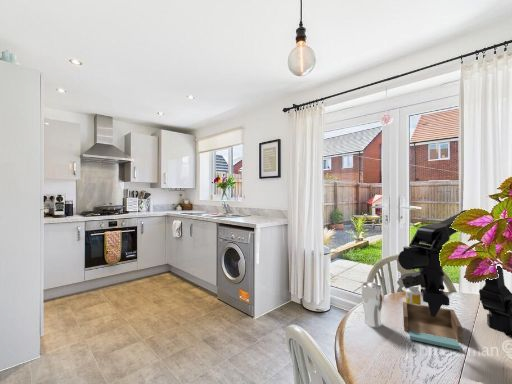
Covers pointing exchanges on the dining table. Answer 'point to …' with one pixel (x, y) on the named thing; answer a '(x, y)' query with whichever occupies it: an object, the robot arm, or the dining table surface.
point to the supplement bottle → (413, 295)
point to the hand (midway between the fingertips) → (432, 316)
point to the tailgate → (434, 340)
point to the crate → (432, 321)
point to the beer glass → (372, 303)
